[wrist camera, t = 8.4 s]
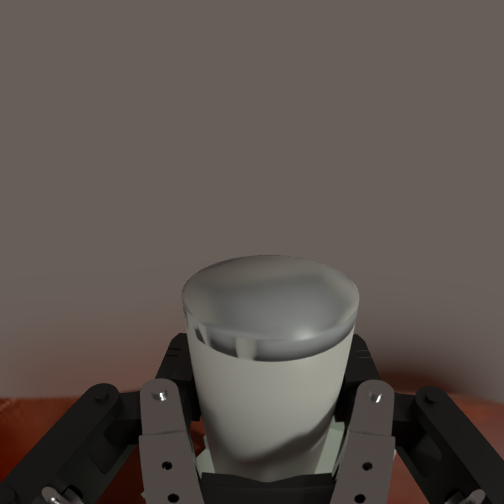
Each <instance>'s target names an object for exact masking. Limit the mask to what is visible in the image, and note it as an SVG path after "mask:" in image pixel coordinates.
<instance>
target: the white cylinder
mask: <svg viewBox="0 0 504 504" xmlns="http://www.w3.org/2000/svg"><path fill="white" fill-rule="evenodd" d="M182 303H183V311H184V318H185V325H186V331H187V338H188V344H189V350H190V356H191V362H192V368H193V374H194V379H195V385H196V390H197V395H198V400H199V405H200V410H201V415H202V420H203V424H204V429H205V433H206V438H207V442H208V446H209V451H210V455H211V459H212V463H213V467H214V471H215V473H218V474H232V475H237V476H241V477H245V478H249V479H253V480H257V481H261V482H273V481H277V480H282V479H286V478H290V477H294V476H298V475H307V474H315V471H316V468H317V465H318V462H319V460H320V457H321V454H322V451H323V448H324V444H325V441H326V438H327V435H328V432H329V428H330V425H331V422H332V418H333V415H334V411H335V408H336V404H337V401H338V397H339V393H340V389H341V385H342V381H343V377H344V373H345V369H346V365H347V360H348V356H349V351H350V347H351V342H352V337H353V332H354V327H355V322H356V316H357V311H358V305H359V292H358V289H357V287H356V286H355V284H354V283H353V281H352V280H351V279H350V278H349V277H347V276H346V275H344V273H342V272H340V271H339V270H337V269H335V268H333V267H330V266H328V265H326V264H323V263H320V262H316V261H313V260H309V259H304V258H298V257H291V256H280V255H278V256H277V255H259V256H248V257H240V258H234V259H230V260H226V261H222V262H218V263H216V264H213V265H210V266H208V267H206V268H204V269H202V270H201V271H199V272H197V273H196V274H194V275H193V276H192V277H191V278H190V279H189V280H188V281H187V282H186V284H185V285H184V288H183V290H182Z"/></svg>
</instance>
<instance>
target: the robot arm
mask: <svg viewBox="0 0 504 504" xmlns="http://www.w3.org/2000/svg"><path fill="white" fill-rule="evenodd" d="M200 416H201V410H200V405H199V400H198V395H197V390H196V385H195V379H194V374H193V368H192V362H191V356H190V350H189V344H188V338H187V333H179V334H178V335H177V336H175V337H174V338H173V339H172V340H171V343H170V345H169V347H168V350H167V352H166V354H165V356H164V359H163V361H162V363H161V366H160V368H159V370H158V373H157V375H156V378H155V379H154V380H151V381H149V382H147V383H146V384H144V385H143V387H142V388H141V390H140V391H138V392H131V393H119V392H118V390H117V388H116V387H115V386H113V385H111V384H105V383H102V384H97V385H94V386H92V387H91V388H89V389H88V390H87V391H86V392H85V393H84V394H83V395H82V396H81V397H80V398H79V399H78V400H77V402H76V403H75V404H74V405H73V406H72V407H71V408H70V409H69V410H68V411H67V412H66V413H65V414H64V415H63V416H62V417H61V418H60V419H59V420H58V421H57V422H56V424H55V425H54V426H53V427H52V428H51V429H50V430H49V431H48V432H47V433H46V434H45V435H44V436H43V437H42V438H41V439H40V441H39V442H38V443H37V444H36V445H35V446H34V447H33V448H32V449H31V450H30V451H29V452H28V453H27V455H26V456H25V457H24V458H23V459H22V460H21V461H20V462H19V463H18V464H17V465H16V466H15V468H14V469H13V470H12V471H11V472H10V473H9V474H8V475H7V476H6V477H5V479H4V480H3V481H2V482H1V483H0V504H95V503H96V502H97V500H98V499H99V498H100V496H101V495H102V493H103V492H104V491H105V489H106V488H107V486H108V485H109V484H110V482H111V481H112V479H113V478H114V477H115V475H116V474H117V472H118V471H119V470H120V468H121V467H122V465H123V464H124V463H125V461H126V460H127V458H128V457H129V456H130V454H131V453H132V451H133V450H134V449H135V447H136V446H137V444H139V449H140V459H141V468H142V477H143V485H144V492H145V499H146V504H386V502H387V496H388V491H389V485H390V479H391V473H392V466H393V458H394V450H396V451H397V453H398V454H399V456H400V457H401V459H402V460H403V462H404V464H405V465H406V467H407V468H408V470H409V471H410V473H411V475H412V476H413V478H414V479H415V481H416V483H417V484H418V486H419V487H420V489H421V490H422V492H423V494H424V495H425V497H426V498H427V500H428V502H429V503H430V504H504V461H503V459H502V458H501V457H500V456H499V454H498V453H497V452H496V451H495V450H494V448H493V447H492V446H491V445H490V443H489V442H488V441H487V440H486V439H485V438H484V436H483V435H482V434H481V433H480V432H479V430H478V429H477V428H476V427H475V426H474V425H473V423H472V422H471V421H470V420H469V419H468V418H467V417H466V415H465V414H464V413H463V412H462V411H461V410H460V409H459V407H458V406H457V405H456V404H455V403H454V402H453V401H452V399H451V398H450V397H449V396H448V395H447V394H446V393H445V392H444V391H443V390H442V389H440V388H438V387H435V386H425V387H422V388H420V389H419V390H418V391H417V392H416V394H415V395H407V394H399V393H395V392H394V390H393V389H392V387H391V386H390V385H389V384H387V383H386V382H384V381H381V379H380V377H379V374H378V371H377V369H376V367H375V364H374V362H373V359H372V358H371V355H370V352H369V351H368V348H367V345H366V343H365V341H364V340H363V339H362V338H361V337H360V336H358V335H357V334H353V337H352V342H351V347H350V351H349V356H348V360H347V365H346V369H345V373H344V377H343V381H342V385H341V389H340V393H339V397H338V401H337V404H336V408H335V411H334V419H335V423H336V422H344V427H345V428H344V431H343V434H342V438H341V441H340V445H339V449H338V452H337V456H336V459H335V463H334V466H333V469H332V472H331V473H321V474H307V475H298V476H294V477H290V478H286V479H282V480H277V481H273V482H261V481H257V480H253V479H249V478H245V477H241V476H237V475H232V474H218V473H208V472H202V475H201V474H200V471H199V468H198V464H197V460H196V456H195V452H194V448H193V444H192V440H191V436H190V432H189V428H190V424H191V421H199V420H200Z"/></svg>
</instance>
